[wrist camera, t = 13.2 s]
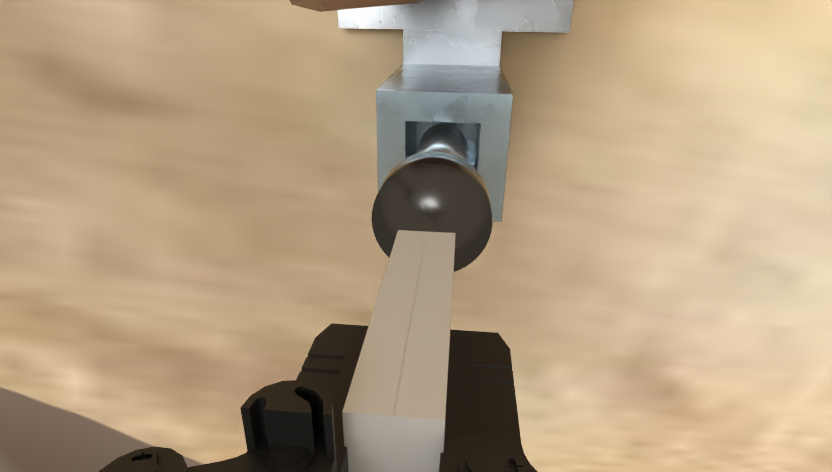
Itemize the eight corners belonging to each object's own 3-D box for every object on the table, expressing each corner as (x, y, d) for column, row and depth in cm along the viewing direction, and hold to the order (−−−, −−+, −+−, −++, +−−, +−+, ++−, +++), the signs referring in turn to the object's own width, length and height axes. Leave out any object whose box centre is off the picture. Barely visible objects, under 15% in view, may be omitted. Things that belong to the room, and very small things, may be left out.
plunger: (403, 184, 27) (372, 271, 18) (403, 105, 25) (370, 161, 16) (481, 187, 26) (487, 278, 18) (486, 108, 25) (496, 166, 16)
